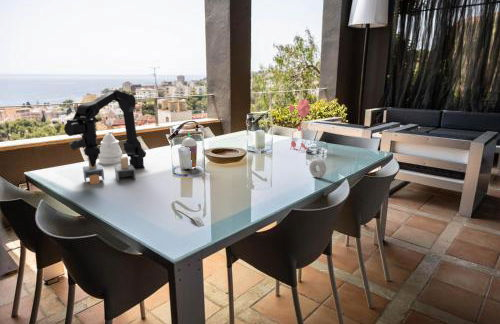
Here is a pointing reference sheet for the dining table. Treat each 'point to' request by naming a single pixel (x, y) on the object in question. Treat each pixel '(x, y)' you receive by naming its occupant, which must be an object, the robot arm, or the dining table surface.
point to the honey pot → (109, 150)
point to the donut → (321, 168)
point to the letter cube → (94, 178)
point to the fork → (191, 216)
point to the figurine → (302, 110)
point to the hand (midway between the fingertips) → (92, 165)
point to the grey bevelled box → (124, 169)
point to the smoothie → (191, 148)
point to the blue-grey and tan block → (93, 170)
